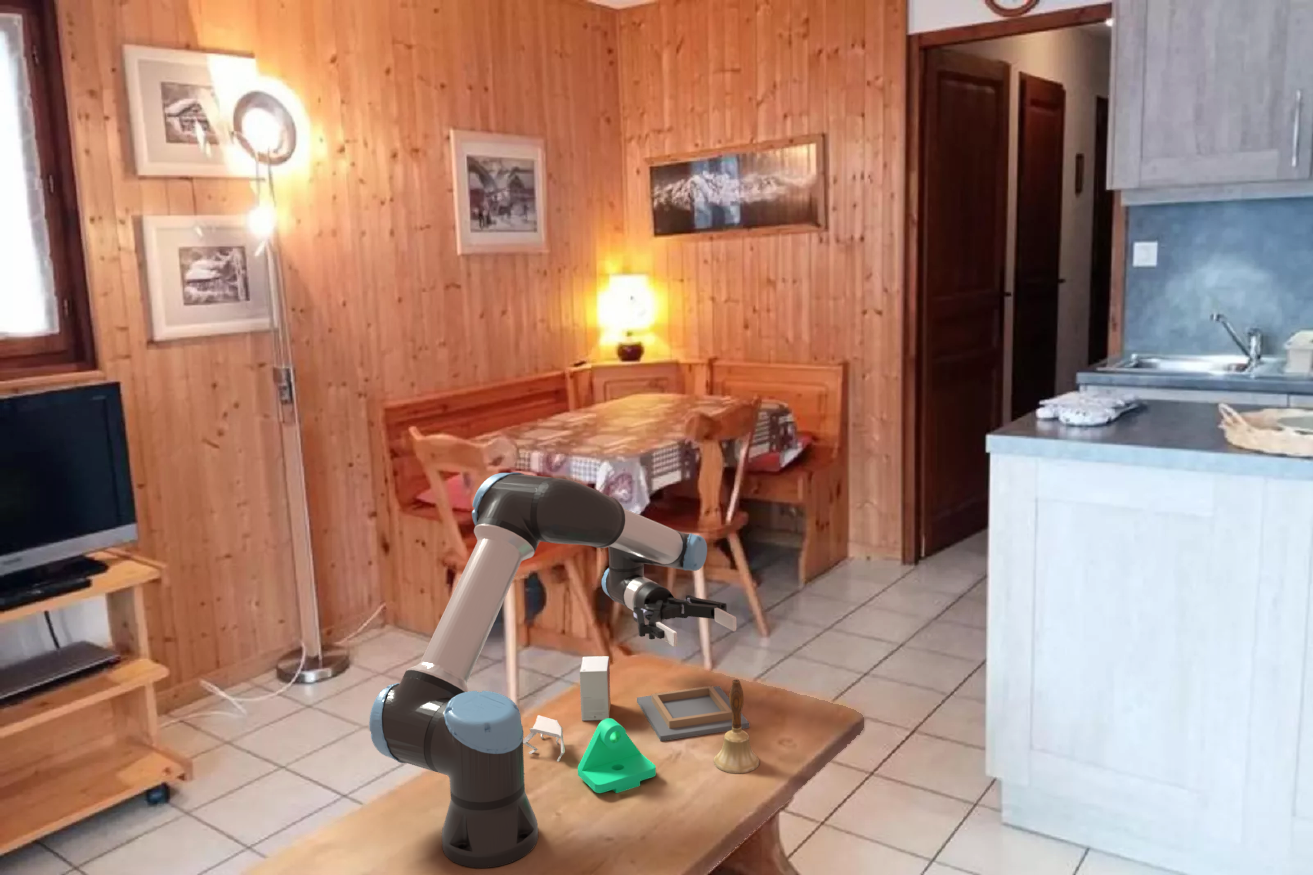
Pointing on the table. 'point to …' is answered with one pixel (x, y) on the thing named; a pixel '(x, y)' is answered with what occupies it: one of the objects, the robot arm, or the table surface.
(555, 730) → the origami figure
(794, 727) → the table surface
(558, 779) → the table surface
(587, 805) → the table surface
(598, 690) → the small box
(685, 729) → the bell board
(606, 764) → the camera mount
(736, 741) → the hand bell
